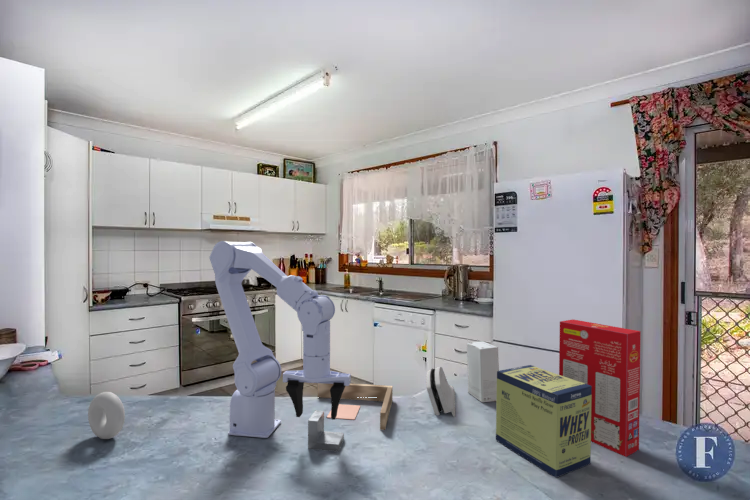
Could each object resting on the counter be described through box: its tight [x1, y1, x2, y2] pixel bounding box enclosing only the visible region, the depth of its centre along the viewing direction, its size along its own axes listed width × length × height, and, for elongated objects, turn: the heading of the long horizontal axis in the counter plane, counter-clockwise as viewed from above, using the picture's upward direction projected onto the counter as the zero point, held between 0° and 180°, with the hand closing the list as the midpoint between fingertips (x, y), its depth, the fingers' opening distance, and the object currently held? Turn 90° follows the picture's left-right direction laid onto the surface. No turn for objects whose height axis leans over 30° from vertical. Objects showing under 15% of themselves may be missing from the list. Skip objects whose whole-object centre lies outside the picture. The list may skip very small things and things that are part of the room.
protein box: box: [495, 364, 592, 478], centre depth 79 cm, size 10×16×16 cm
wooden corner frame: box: [316, 382, 394, 431], centre depth 98 cm, size 21×17×4 cm
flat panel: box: [326, 403, 361, 421], centre depth 97 cm, size 7×8×1 cm
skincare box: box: [466, 341, 500, 403], centre depth 108 cm, size 8×6×15 cm
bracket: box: [307, 410, 345, 452], centre depth 81 cm, size 6×5×6 cm
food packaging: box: [558, 318, 642, 458], centre depth 85 cm, size 15×5×25 cm, turn 31°
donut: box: [87, 391, 126, 440], centre depth 83 cm, size 10×3×10 cm, turn 65°
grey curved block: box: [425, 366, 456, 417], centre depth 103 cm, size 17×5×10 cm, turn 168°
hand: (316, 416), depth 82 cm, fingers open, 7 cm apart
